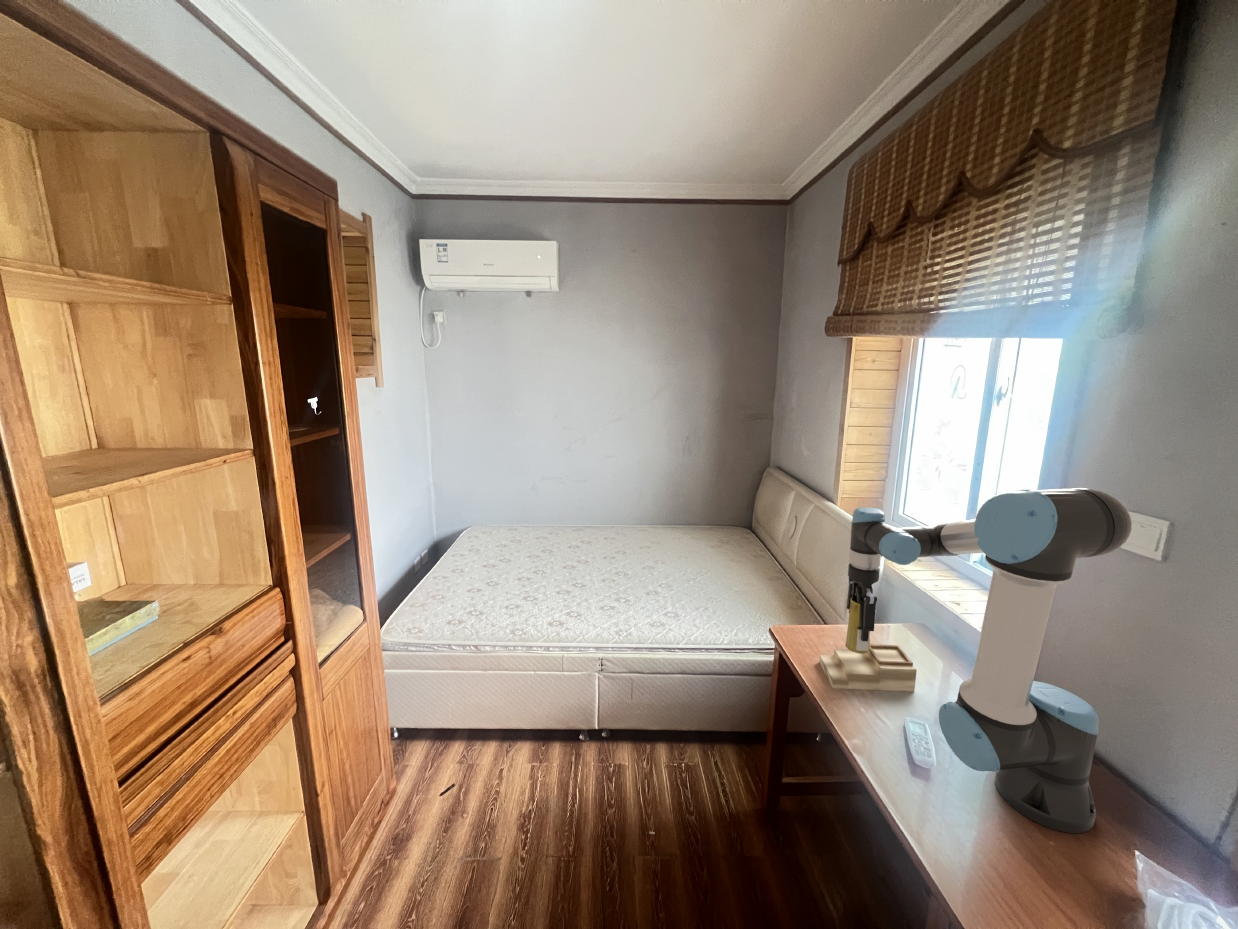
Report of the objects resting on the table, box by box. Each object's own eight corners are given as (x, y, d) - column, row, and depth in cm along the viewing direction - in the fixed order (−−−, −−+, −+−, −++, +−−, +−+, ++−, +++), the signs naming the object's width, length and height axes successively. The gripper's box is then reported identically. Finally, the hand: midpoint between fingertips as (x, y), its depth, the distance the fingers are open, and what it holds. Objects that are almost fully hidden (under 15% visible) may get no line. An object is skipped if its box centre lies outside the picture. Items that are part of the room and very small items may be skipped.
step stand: (914, 691, 132) (916, 666, 131) (832, 688, 134) (834, 663, 133) (894, 665, 144) (896, 642, 142) (819, 662, 146) (820, 639, 144)
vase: (863, 656, 133) (867, 607, 131) (841, 647, 138) (844, 599, 135) (873, 648, 137) (877, 600, 135) (851, 639, 142) (854, 593, 139)
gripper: (894, 580, 123) (886, 664, 128) (865, 552, 142) (859, 626, 146) (862, 579, 124) (855, 662, 129) (838, 551, 142) (832, 625, 147)
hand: (857, 643), depth 137 cm, fingers closed on vase, 6 cm apart
